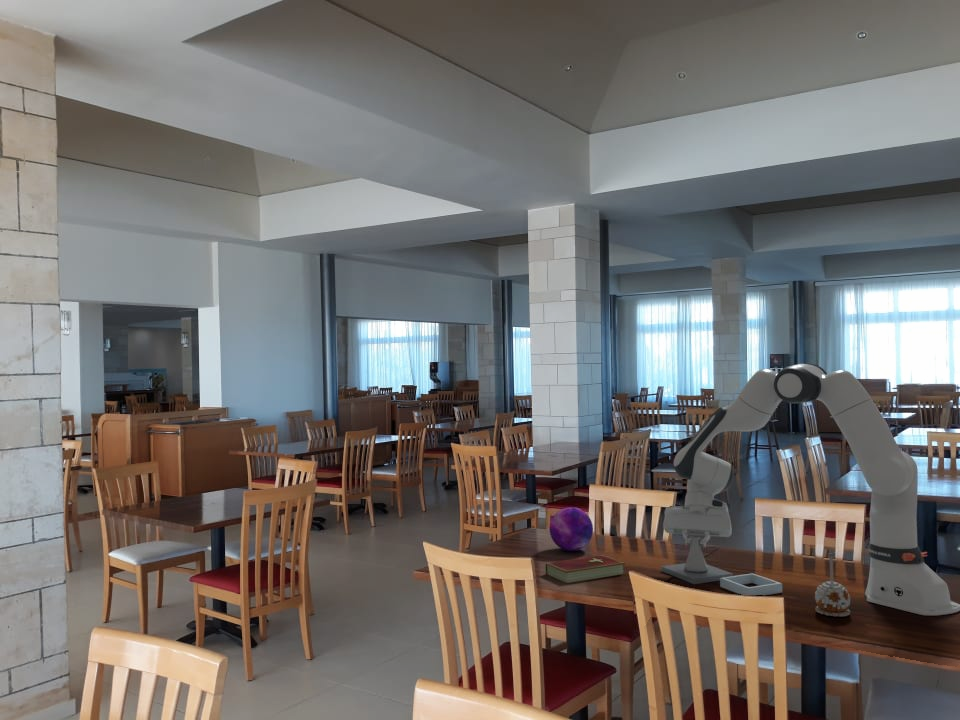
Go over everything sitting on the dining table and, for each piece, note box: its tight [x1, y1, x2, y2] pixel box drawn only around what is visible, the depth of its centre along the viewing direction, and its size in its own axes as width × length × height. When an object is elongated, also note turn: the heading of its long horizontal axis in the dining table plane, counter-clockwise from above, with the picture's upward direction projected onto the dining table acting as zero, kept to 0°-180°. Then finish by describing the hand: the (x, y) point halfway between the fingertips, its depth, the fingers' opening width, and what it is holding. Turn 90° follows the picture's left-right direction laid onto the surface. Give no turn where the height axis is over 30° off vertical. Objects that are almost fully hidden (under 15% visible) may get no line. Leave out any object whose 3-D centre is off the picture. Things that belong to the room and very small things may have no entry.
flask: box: [684, 535, 708, 572], centre depth 227 cm, size 7×7×10 cm
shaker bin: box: [719, 573, 783, 596], centre depth 211 cm, size 12×12×2 cm
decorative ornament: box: [814, 553, 851, 618], centre depth 189 cm, size 8×8×15 cm
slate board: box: [660, 562, 734, 585], centre depth 227 cm, size 16×14×2 cm
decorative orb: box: [549, 506, 594, 552], centre depth 262 cm, size 15×15×15 cm
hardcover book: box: [545, 554, 625, 584], centre depth 231 cm, size 12×21×4 cm, turn 116°
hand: (695, 545), depth 227 cm, fingers closed on flask, 3 cm apart
